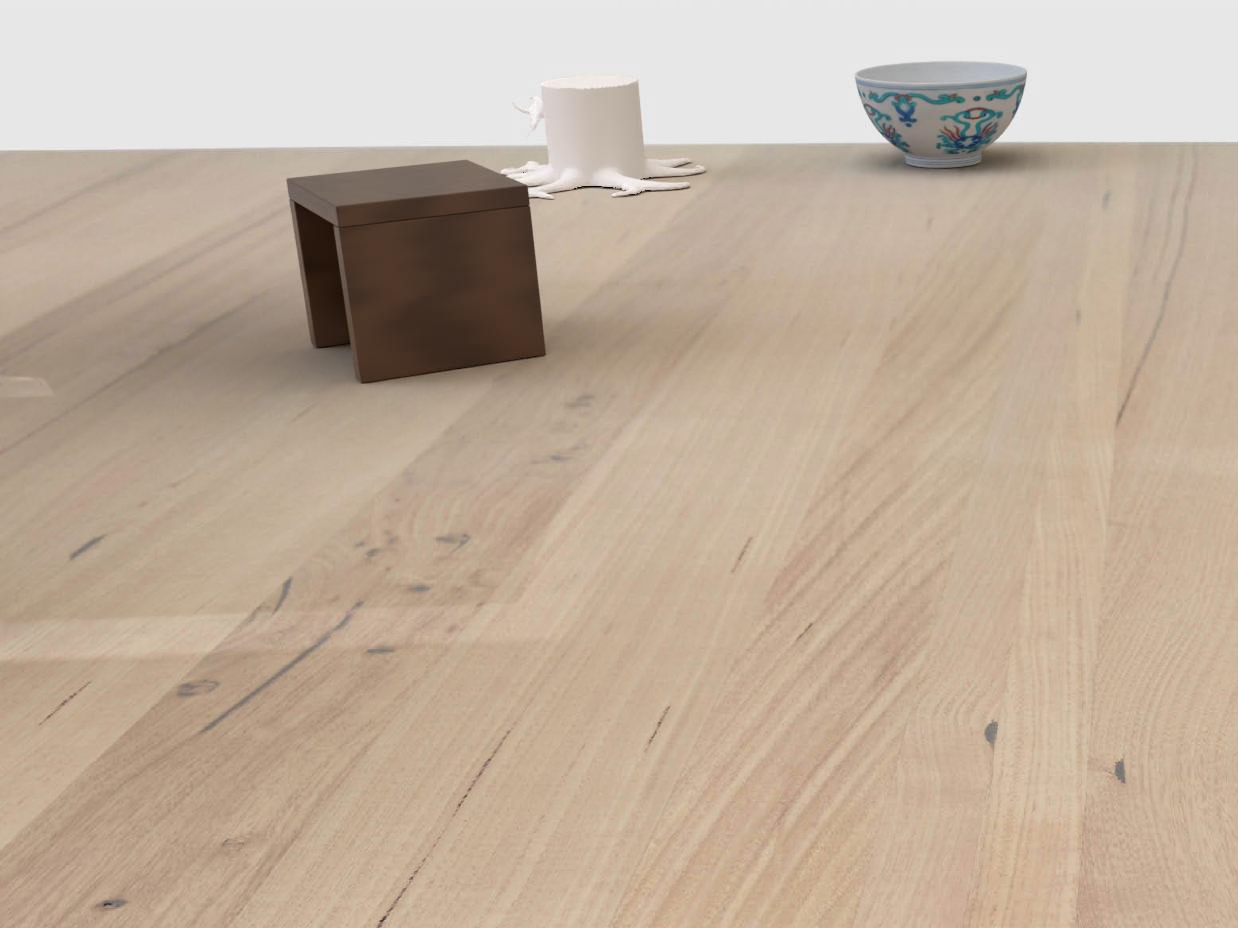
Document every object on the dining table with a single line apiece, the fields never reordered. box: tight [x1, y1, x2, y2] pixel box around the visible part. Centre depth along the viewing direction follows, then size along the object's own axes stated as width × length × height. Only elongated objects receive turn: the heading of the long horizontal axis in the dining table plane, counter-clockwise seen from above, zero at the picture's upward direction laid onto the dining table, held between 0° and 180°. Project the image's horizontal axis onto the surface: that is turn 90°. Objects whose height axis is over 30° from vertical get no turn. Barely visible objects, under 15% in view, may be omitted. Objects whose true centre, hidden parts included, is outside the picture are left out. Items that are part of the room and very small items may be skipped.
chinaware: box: [854, 60, 1028, 169], centre depth 183 cm, size 15×15×8 cm
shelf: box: [285, 159, 547, 384], centre depth 123 cm, size 11×11×10 cm
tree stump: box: [500, 74, 707, 200], centre depth 177 cm, size 20×19×8 cm
